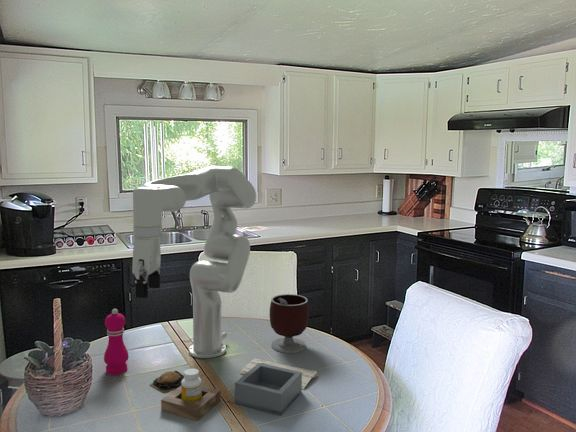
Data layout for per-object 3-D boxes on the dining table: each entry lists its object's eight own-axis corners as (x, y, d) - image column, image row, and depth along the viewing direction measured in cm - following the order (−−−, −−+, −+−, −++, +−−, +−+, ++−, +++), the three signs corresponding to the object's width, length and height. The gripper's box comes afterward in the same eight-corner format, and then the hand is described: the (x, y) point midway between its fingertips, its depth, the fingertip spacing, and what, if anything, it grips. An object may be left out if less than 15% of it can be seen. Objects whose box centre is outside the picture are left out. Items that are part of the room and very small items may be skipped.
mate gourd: (279, 336, 184) (280, 284, 182) (313, 342, 179) (315, 289, 176) (259, 351, 171) (260, 295, 168) (296, 358, 165) (297, 301, 162)
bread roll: (163, 396, 140) (163, 384, 139) (147, 386, 145) (147, 374, 145) (194, 383, 148) (194, 371, 147) (177, 374, 153) (177, 362, 153)
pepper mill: (121, 377, 149) (119, 313, 147) (99, 374, 151) (97, 311, 148) (133, 366, 156) (131, 306, 154) (112, 364, 158) (110, 304, 155)
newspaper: (319, 374, 155) (319, 367, 154) (304, 395, 144) (303, 388, 144) (256, 359, 165) (256, 352, 164) (237, 378, 154) (237, 371, 153)
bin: (258, 381, 148) (258, 362, 147) (301, 392, 142) (301, 372, 142) (234, 403, 135) (234, 382, 135) (280, 415, 130) (281, 394, 129)
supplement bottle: (182, 400, 136) (182, 367, 135) (202, 400, 137) (202, 366, 136) (180, 410, 131) (179, 376, 130) (200, 410, 132) (200, 375, 130)
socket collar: (186, 391, 141) (186, 381, 141) (220, 400, 137) (220, 390, 136) (161, 410, 131) (161, 399, 131) (197, 420, 127) (197, 409, 126)
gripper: (145, 227, 145) (146, 283, 147) (121, 236, 127) (122, 300, 130) (170, 227, 144) (171, 285, 146) (149, 237, 127) (150, 302, 129)
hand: (148, 292), depth 138 cm, fingers open, 9 cm apart
